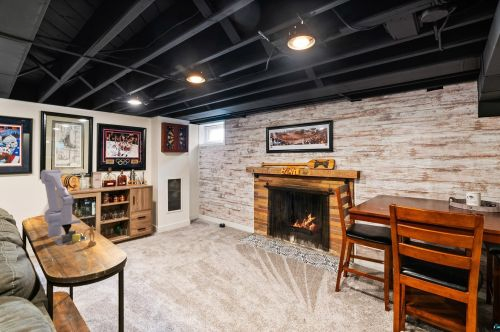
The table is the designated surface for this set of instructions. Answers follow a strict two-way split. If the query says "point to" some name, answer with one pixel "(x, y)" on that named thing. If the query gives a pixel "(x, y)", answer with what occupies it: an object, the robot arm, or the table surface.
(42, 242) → the table surface
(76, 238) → the cap
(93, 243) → the figurine
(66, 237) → the block
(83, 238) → the panel
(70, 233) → the breaker
